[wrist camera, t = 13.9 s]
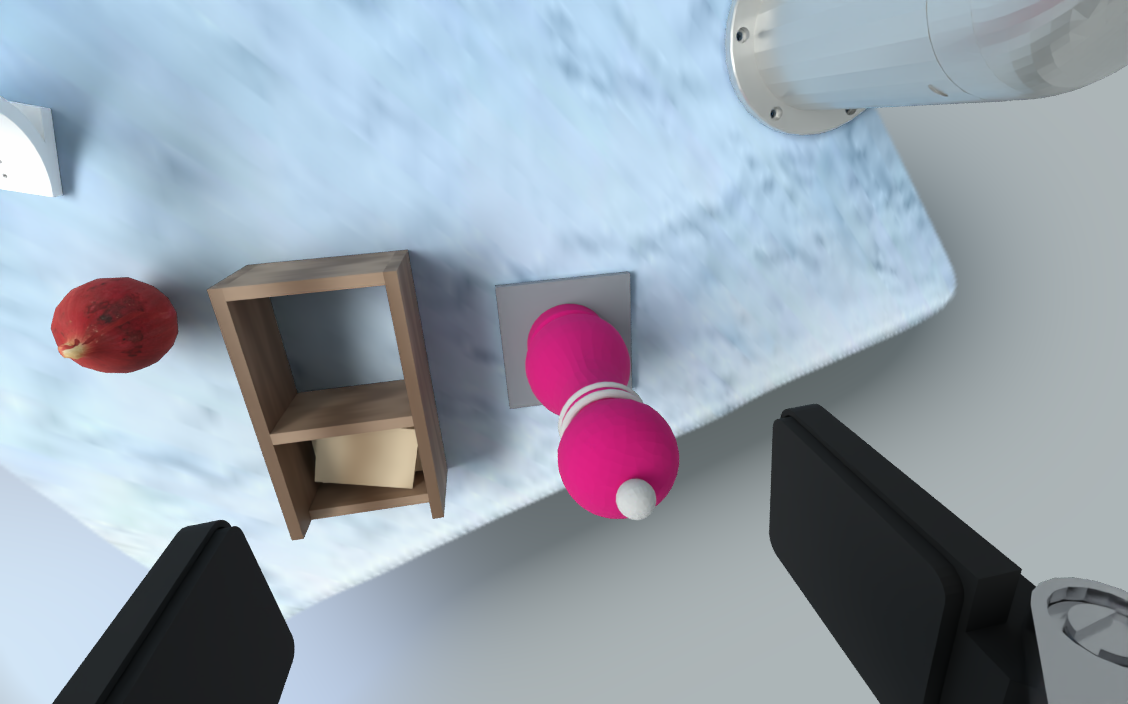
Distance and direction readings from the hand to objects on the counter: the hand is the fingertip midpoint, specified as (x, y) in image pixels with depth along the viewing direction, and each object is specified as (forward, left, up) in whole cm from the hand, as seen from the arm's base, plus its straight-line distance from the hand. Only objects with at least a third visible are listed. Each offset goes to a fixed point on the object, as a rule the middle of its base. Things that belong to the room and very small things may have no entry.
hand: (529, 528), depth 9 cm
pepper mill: (-5, +9, -31) cm, 32 cm away
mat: (-5, +9, -31) cm, 33 cm away
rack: (+11, +10, -31) cm, 34 cm away
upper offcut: (+11, +15, -30) cm, 35 cm away
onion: (+23, +3, -31) cm, 39 cm away
